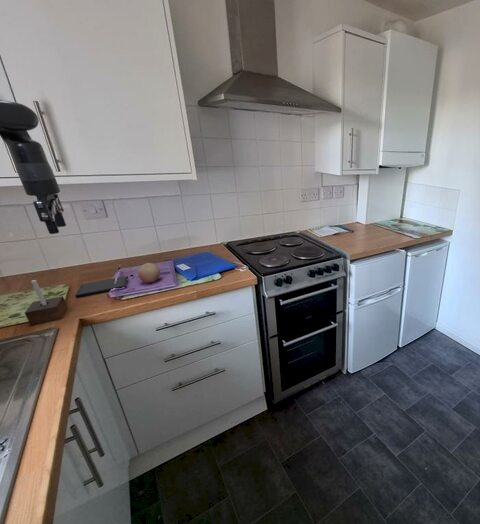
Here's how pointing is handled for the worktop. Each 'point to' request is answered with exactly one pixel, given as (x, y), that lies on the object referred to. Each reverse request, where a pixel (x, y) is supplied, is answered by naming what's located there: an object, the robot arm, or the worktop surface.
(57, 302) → the pen holder
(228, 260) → the worktop surface
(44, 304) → the stylus
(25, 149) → the robot arm
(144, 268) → the fruit
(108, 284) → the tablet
